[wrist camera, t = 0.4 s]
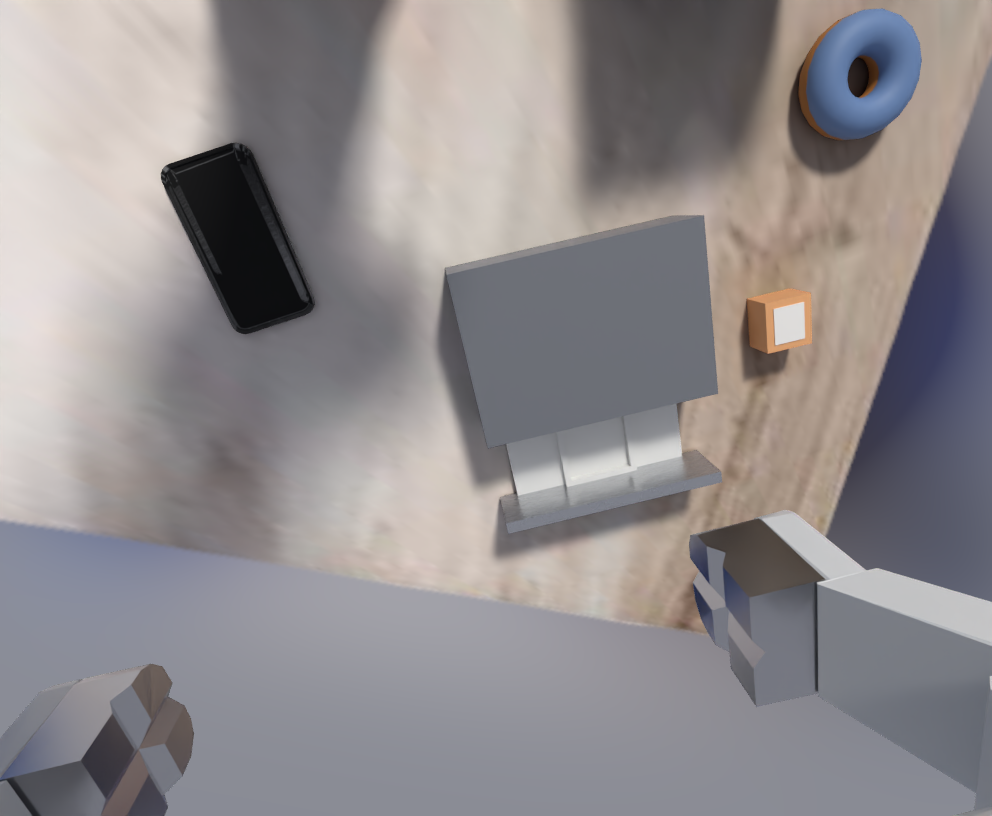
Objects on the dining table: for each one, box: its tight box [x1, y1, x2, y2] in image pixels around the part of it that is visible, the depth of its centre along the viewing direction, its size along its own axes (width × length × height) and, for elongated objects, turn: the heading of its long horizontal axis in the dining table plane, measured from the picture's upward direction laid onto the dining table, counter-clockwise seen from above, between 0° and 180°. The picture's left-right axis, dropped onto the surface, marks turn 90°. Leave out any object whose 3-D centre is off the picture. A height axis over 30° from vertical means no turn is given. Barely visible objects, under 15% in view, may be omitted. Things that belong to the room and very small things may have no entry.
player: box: [445, 215, 718, 448], centre depth 51 cm, size 16×22×6 cm
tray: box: [500, 404, 722, 534], centre depth 55 cm, size 16×22×6 cm
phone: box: [161, 143, 315, 334], centre depth 49 cm, size 8×1×15 cm
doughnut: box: [798, 9, 922, 140], centre depth 48 cm, size 10×10×5 cm
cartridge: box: [747, 289, 812, 354], centre depth 55 cm, size 5×4×4 cm
